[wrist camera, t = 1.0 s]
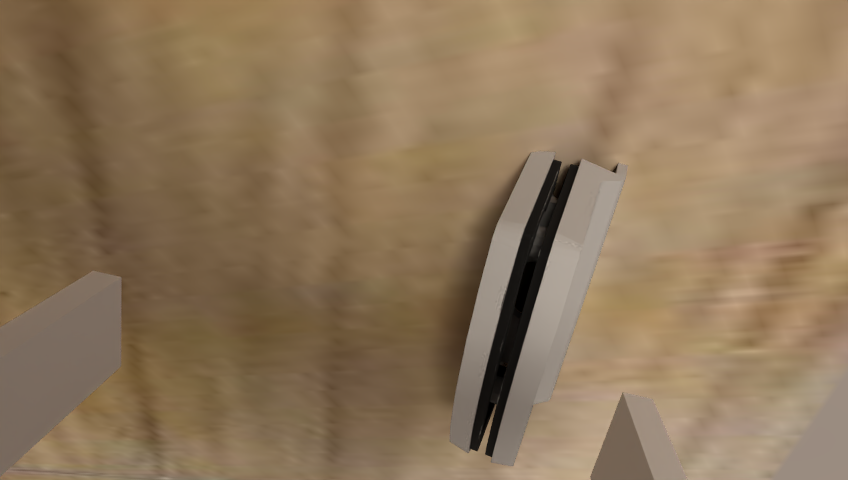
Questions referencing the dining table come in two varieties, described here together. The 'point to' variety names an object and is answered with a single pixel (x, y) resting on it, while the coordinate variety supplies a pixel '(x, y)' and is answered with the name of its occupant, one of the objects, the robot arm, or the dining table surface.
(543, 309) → the grey curved grooved block
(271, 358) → the dining table surface
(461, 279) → the dining table surface
